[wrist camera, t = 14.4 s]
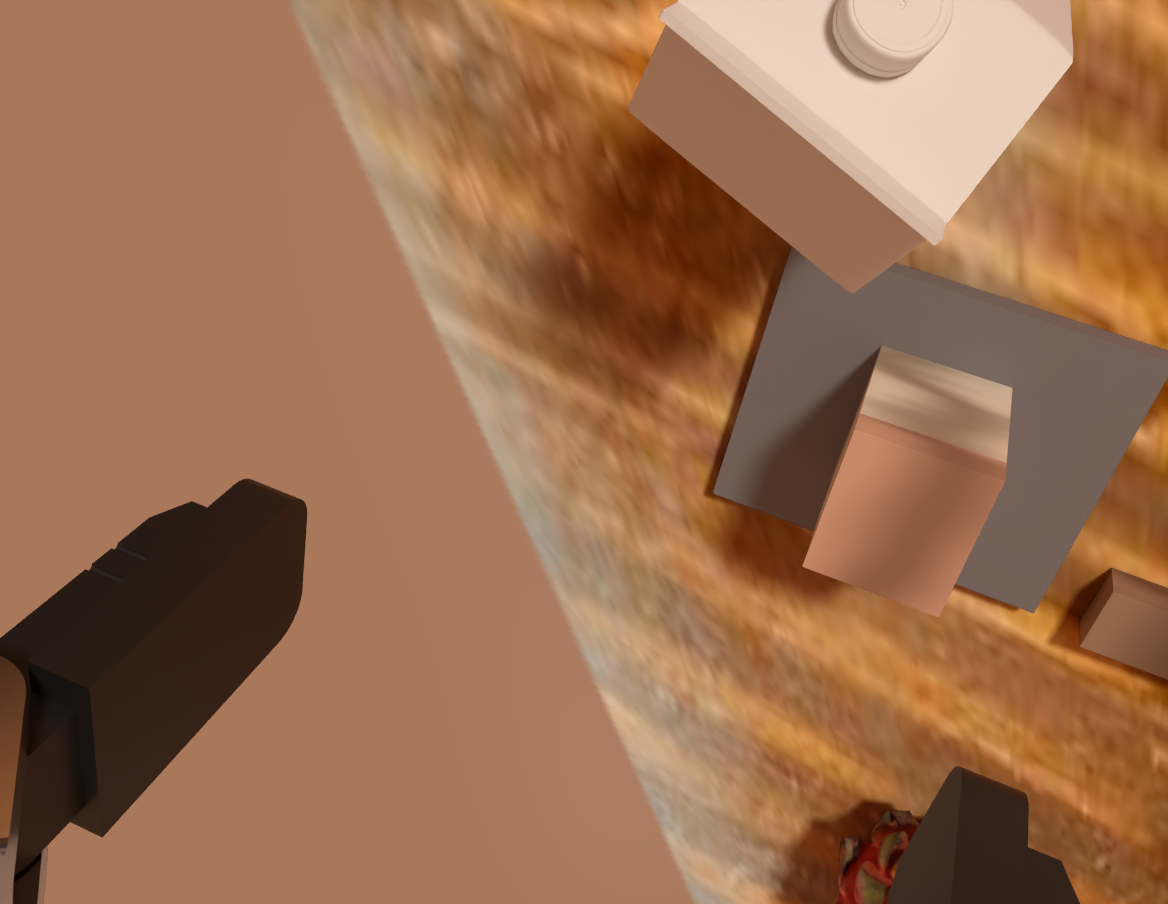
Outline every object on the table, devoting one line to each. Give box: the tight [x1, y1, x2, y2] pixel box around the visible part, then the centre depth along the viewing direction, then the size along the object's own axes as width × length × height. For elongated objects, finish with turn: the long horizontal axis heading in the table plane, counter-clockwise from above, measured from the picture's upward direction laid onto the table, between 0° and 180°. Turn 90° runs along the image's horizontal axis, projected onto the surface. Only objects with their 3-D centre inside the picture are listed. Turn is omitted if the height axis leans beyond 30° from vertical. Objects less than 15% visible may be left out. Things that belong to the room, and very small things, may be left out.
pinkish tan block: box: [802, 346, 1013, 617], centre depth 41 cm, size 5×8×9 cm, turn 169°
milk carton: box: [628, 0, 1073, 294], centre depth 30 cm, size 7×7×19 cm
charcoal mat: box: [713, 247, 1168, 613], centre depth 44 cm, size 14×12×1 cm
